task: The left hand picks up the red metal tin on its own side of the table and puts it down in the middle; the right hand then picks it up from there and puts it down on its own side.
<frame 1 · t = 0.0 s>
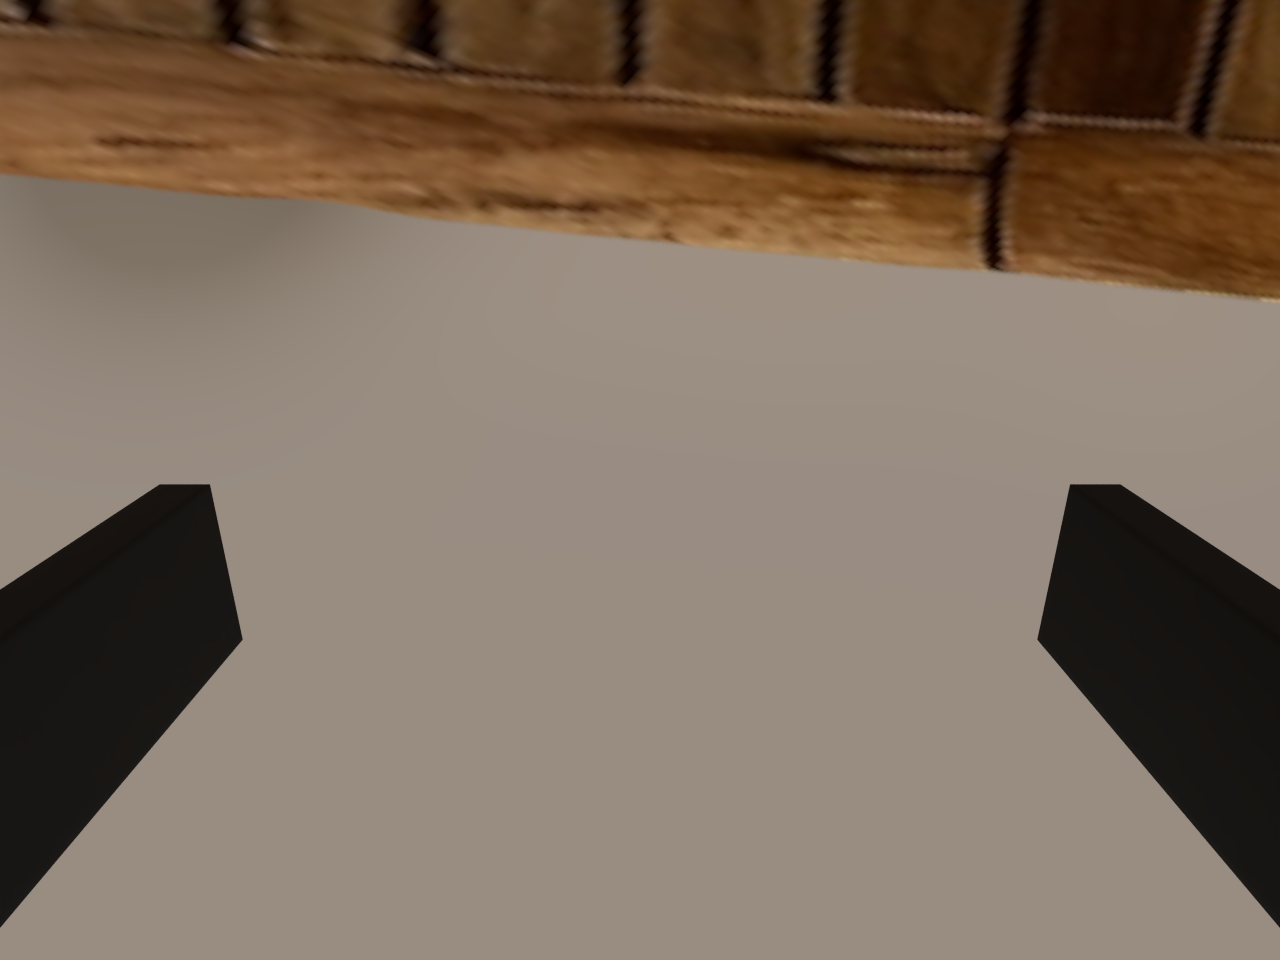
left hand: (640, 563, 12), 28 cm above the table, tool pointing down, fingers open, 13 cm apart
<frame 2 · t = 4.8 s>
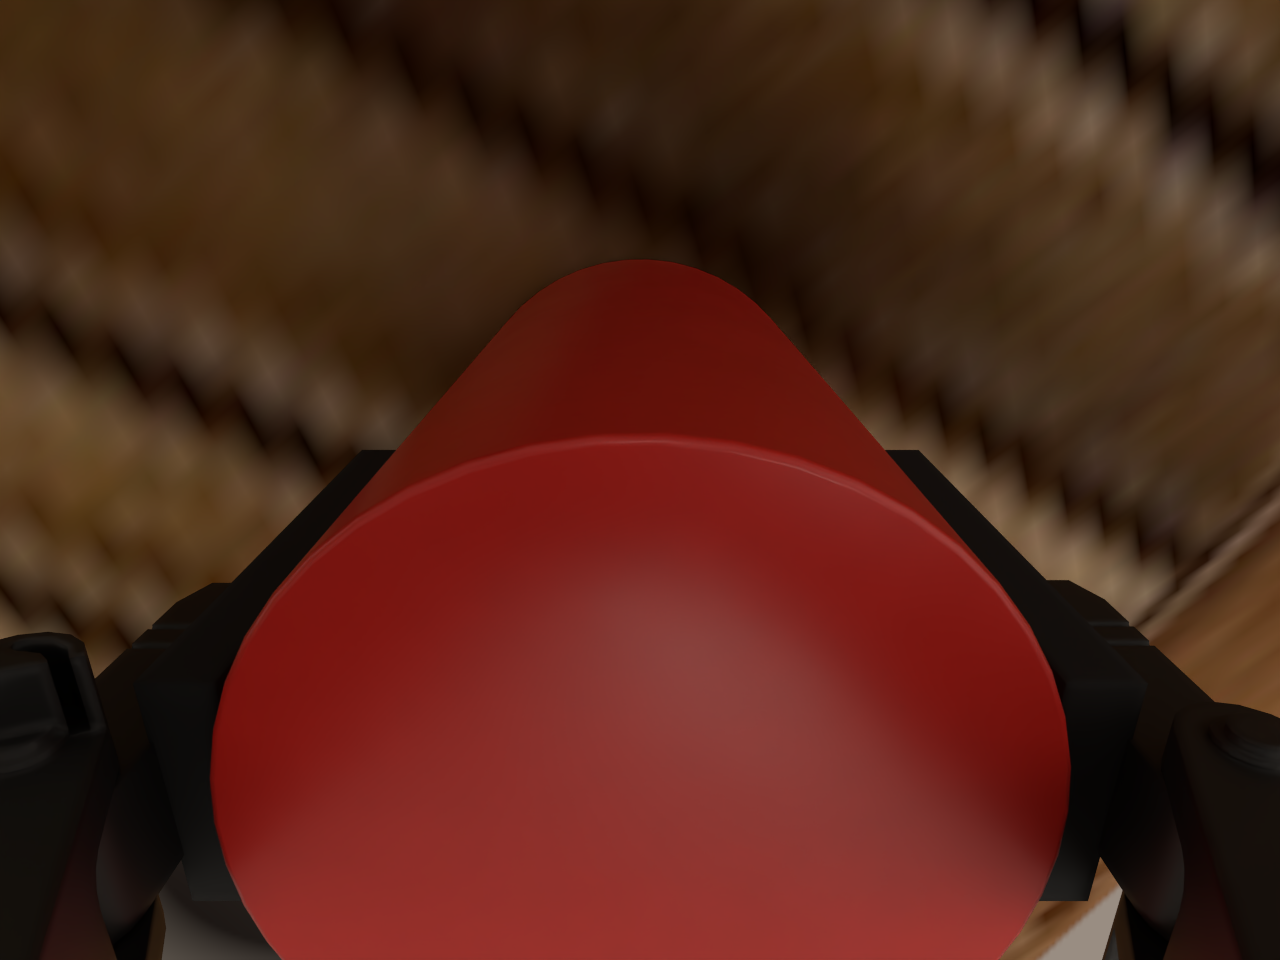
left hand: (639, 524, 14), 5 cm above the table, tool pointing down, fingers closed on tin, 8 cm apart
tin: (640, 431, 19), on the table, touching left hand
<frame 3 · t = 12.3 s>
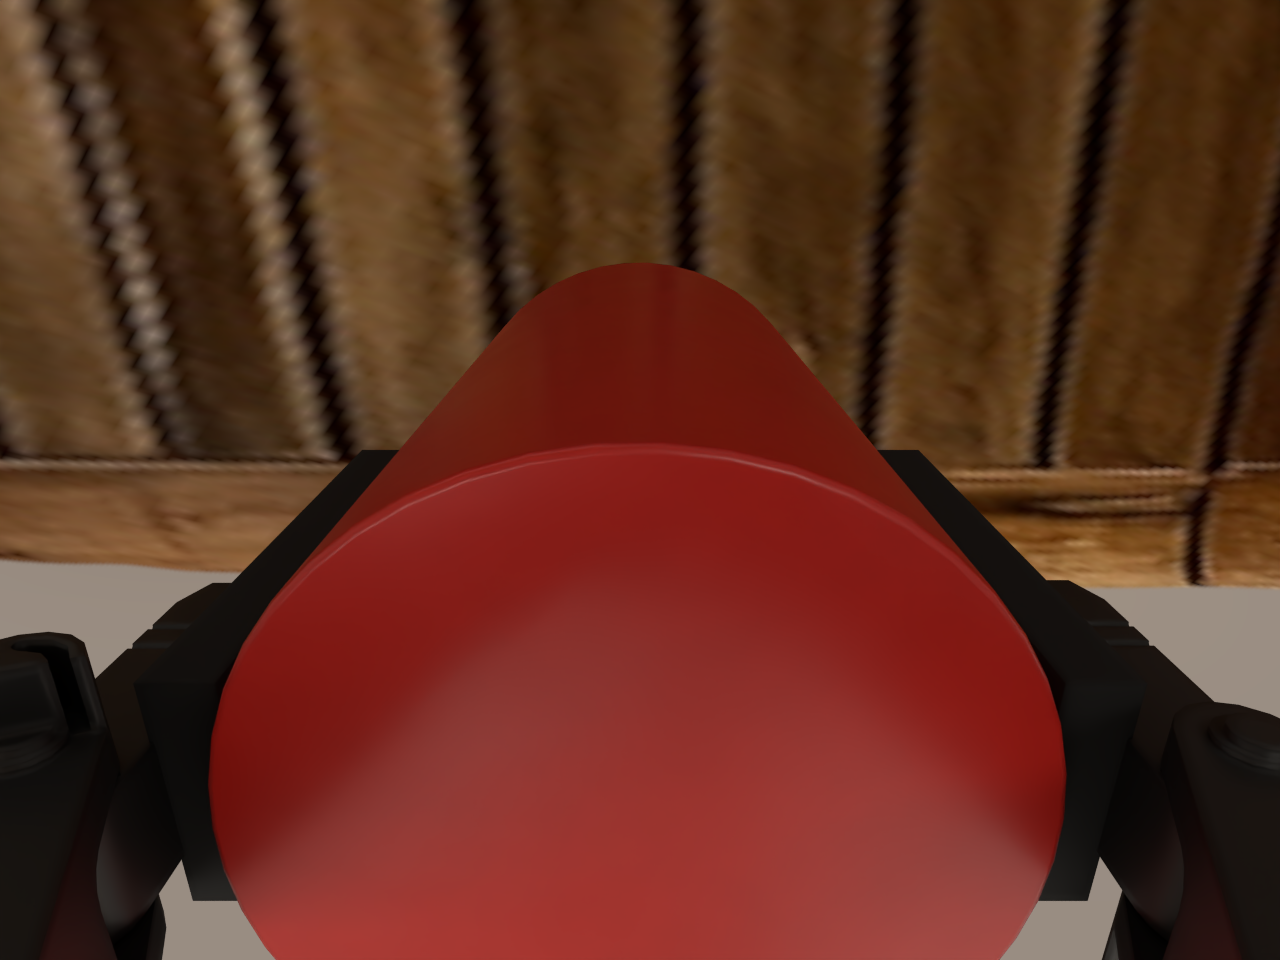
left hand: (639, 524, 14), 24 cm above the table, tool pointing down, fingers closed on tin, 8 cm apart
tin: (639, 434, 19), point 19 cm above the table, touching left hand
when the left hand's fingers open (7 cm above the table, at t = 19.7 s): tin drops 1 cm, on the table.
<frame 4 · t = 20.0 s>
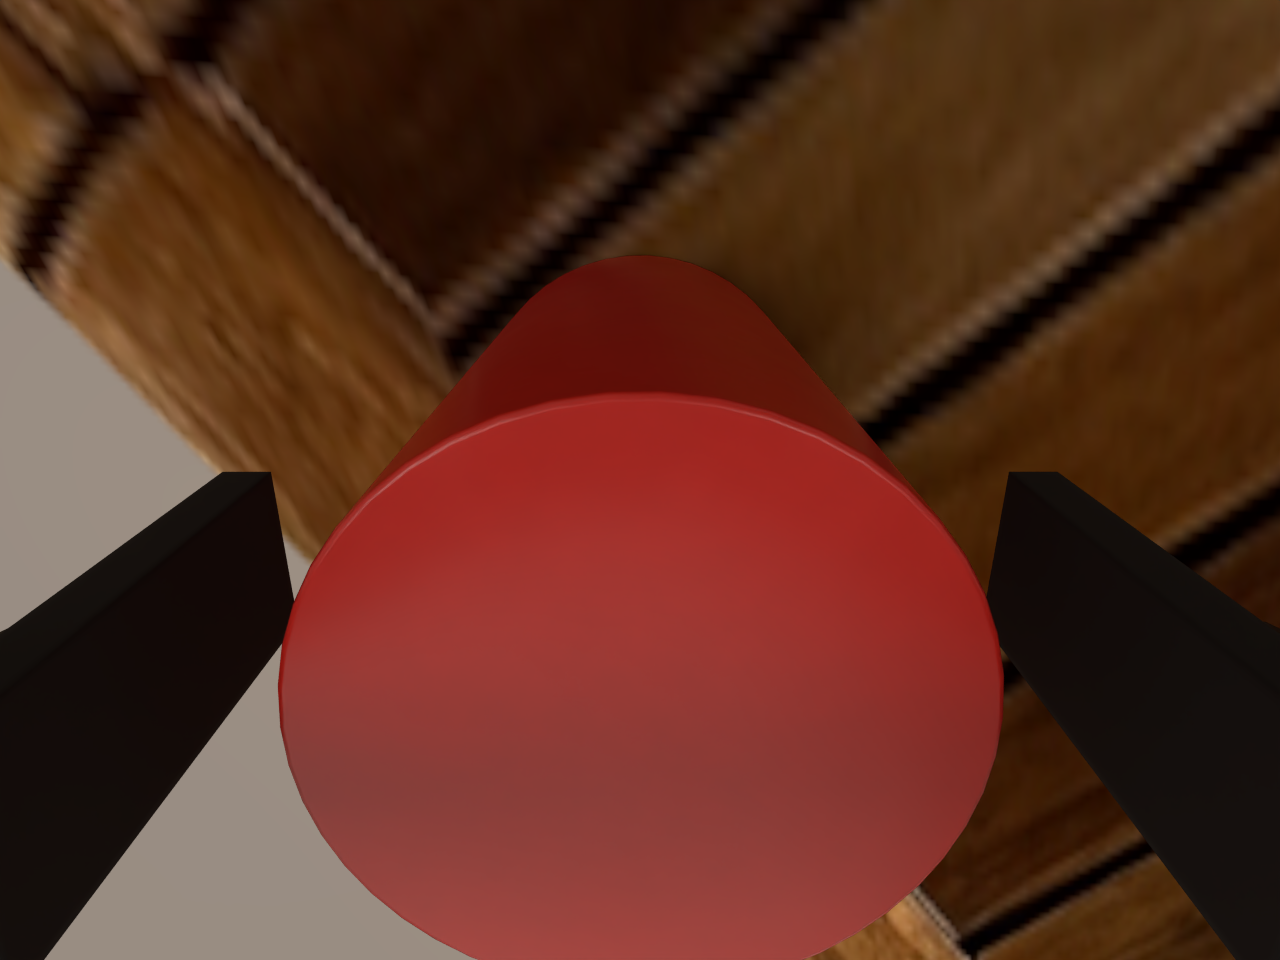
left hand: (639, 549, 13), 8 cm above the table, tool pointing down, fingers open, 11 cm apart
tin: (640, 416, 20), on the table
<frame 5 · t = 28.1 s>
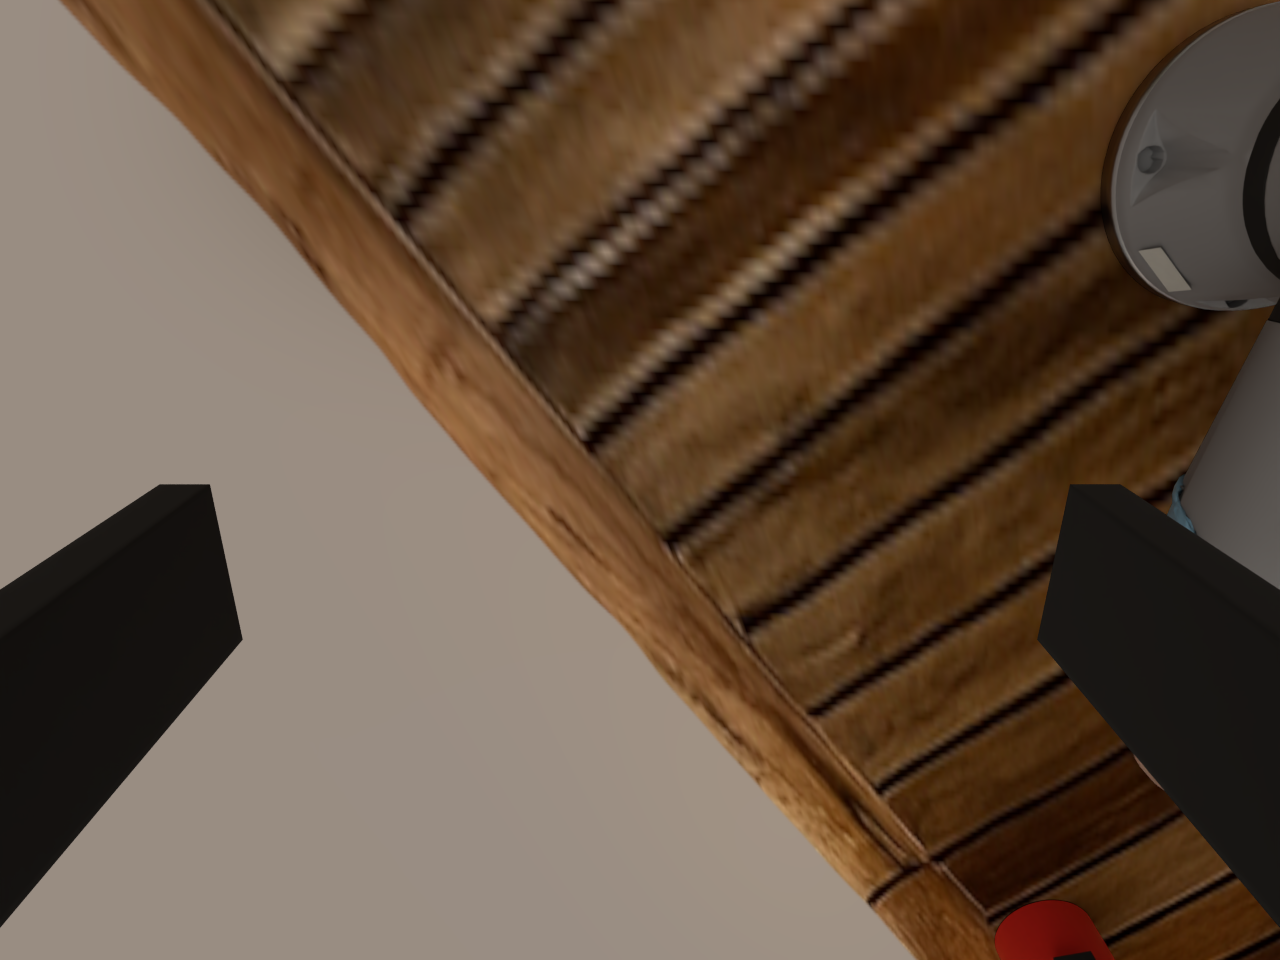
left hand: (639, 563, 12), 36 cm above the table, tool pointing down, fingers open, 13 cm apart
tin: (1043, 935, 65), on the table, touching right hand
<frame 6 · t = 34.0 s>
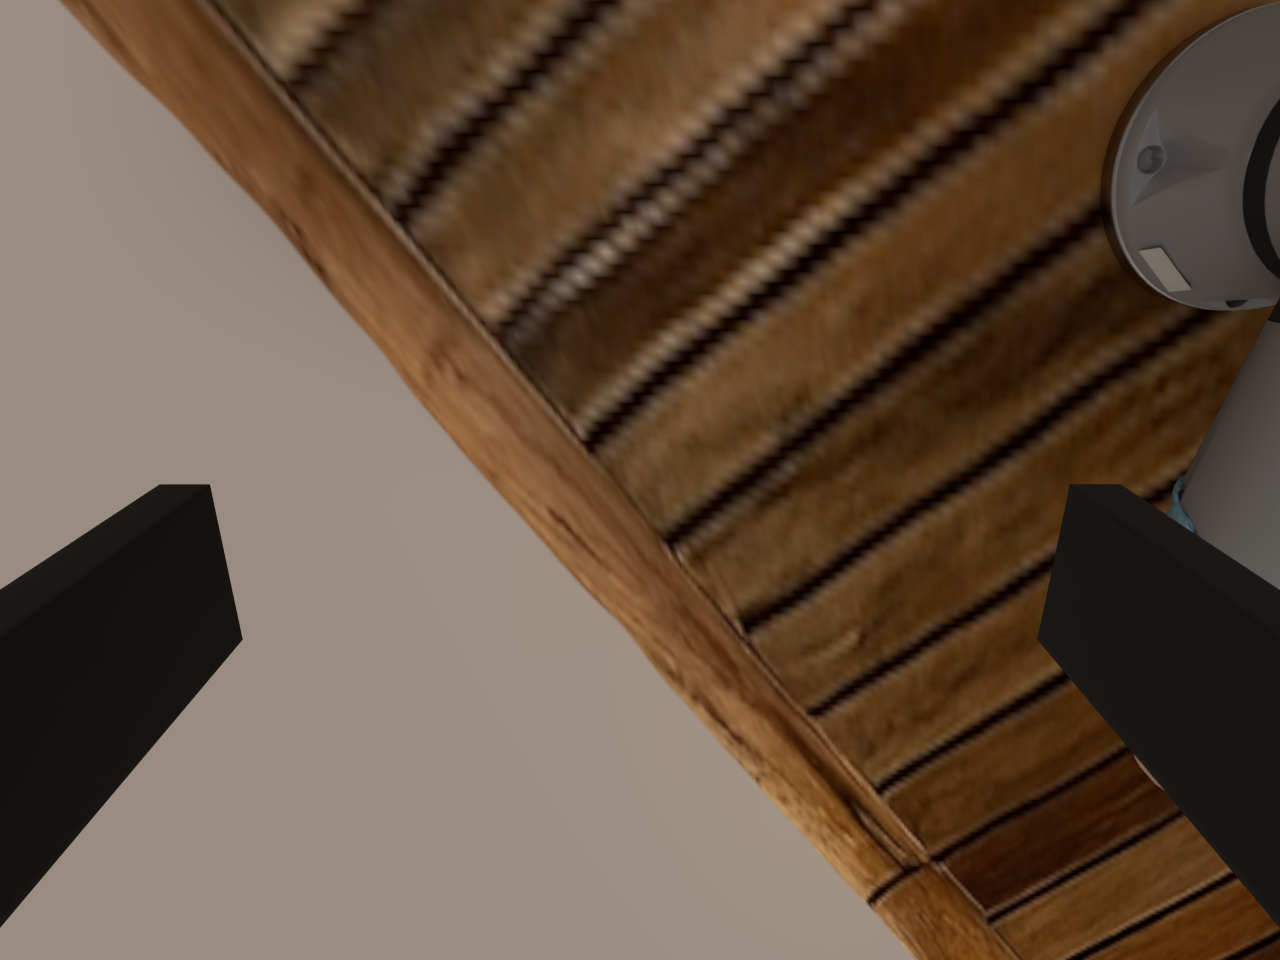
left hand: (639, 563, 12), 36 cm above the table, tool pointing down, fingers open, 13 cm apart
when the right hand's fingers open (7 cm above the table, at t = 39.9 s): tin drops 1 cm, on the table.
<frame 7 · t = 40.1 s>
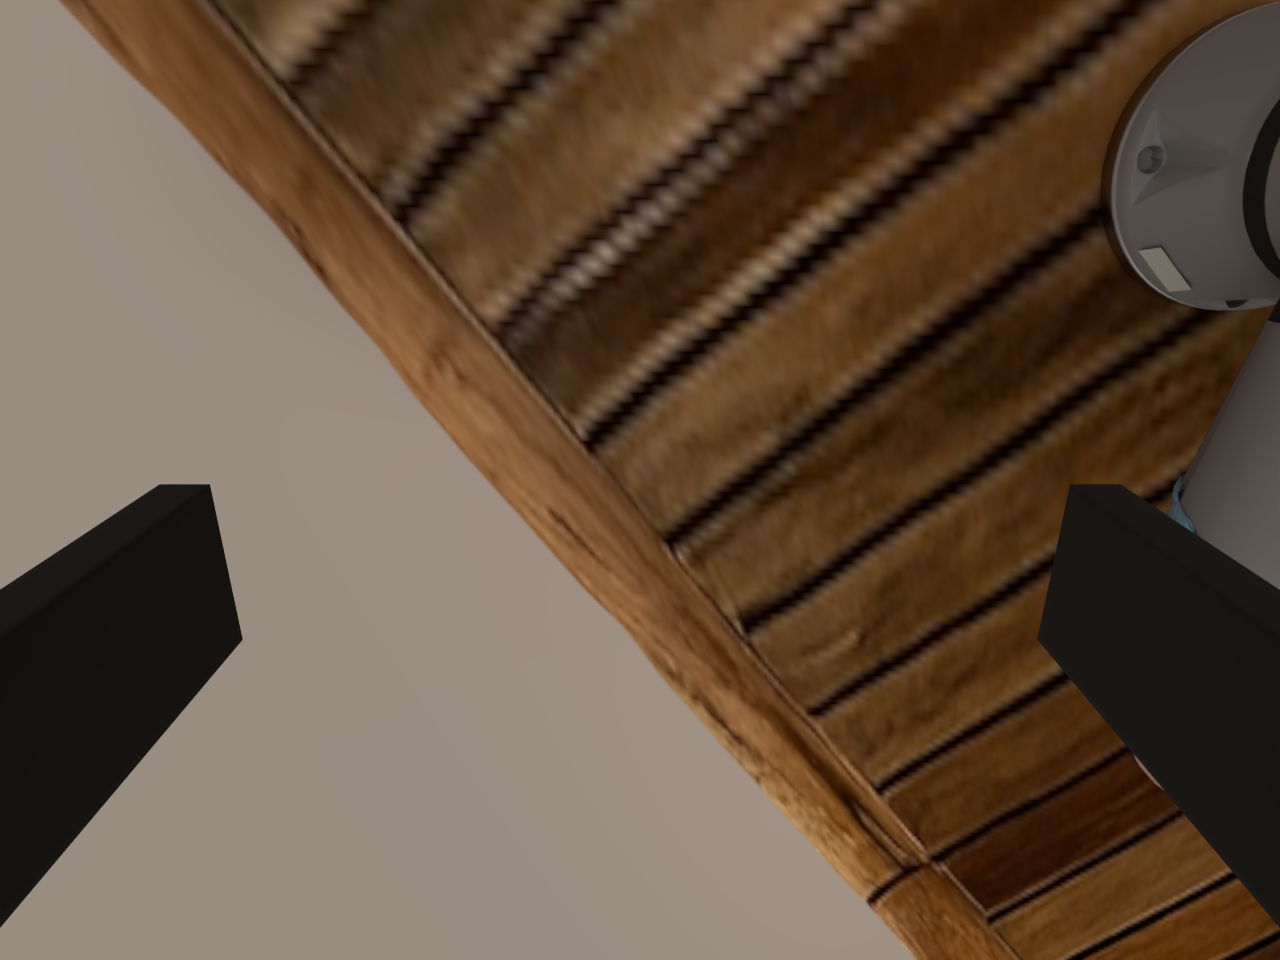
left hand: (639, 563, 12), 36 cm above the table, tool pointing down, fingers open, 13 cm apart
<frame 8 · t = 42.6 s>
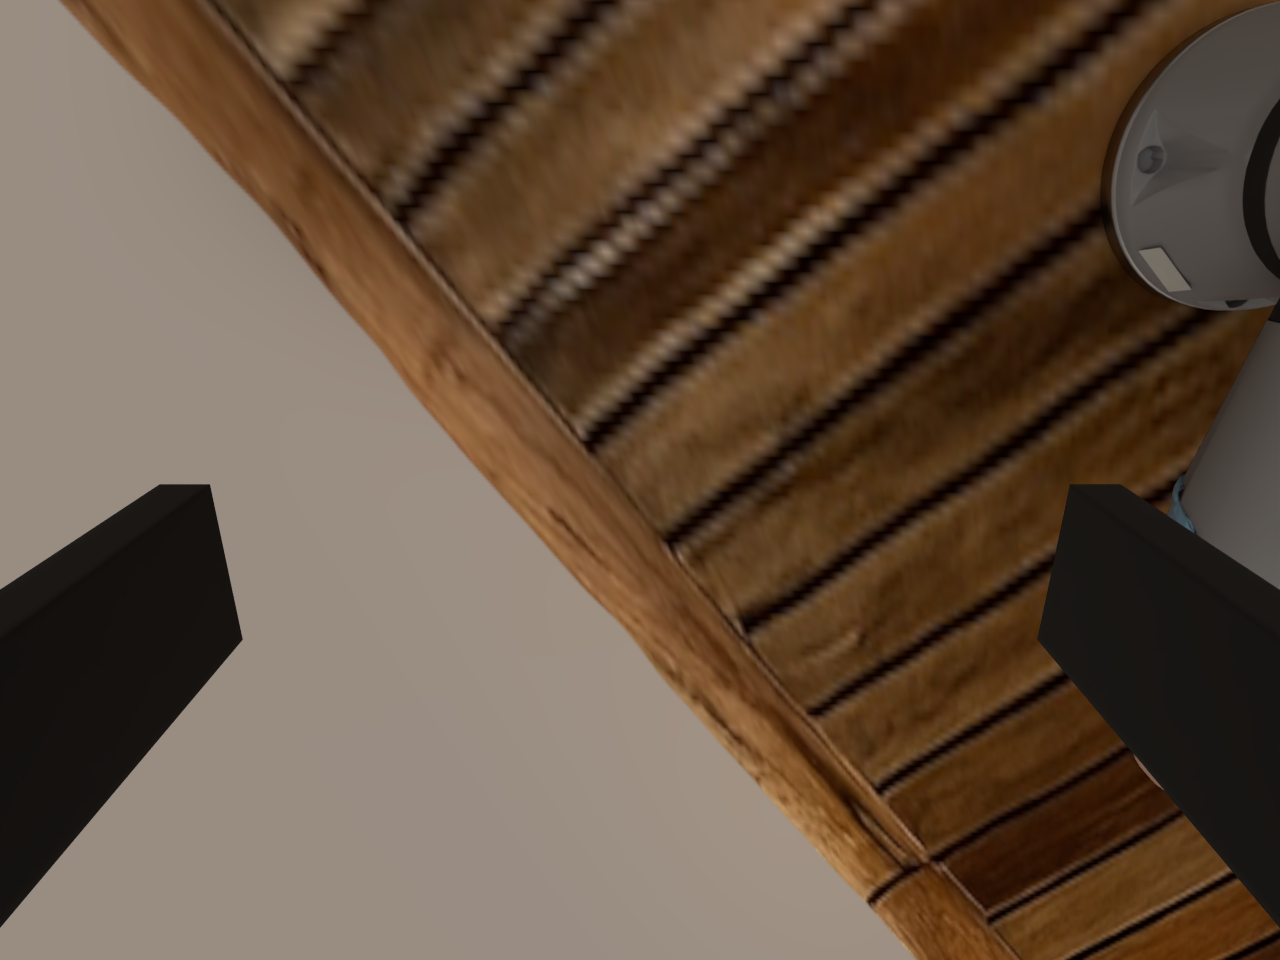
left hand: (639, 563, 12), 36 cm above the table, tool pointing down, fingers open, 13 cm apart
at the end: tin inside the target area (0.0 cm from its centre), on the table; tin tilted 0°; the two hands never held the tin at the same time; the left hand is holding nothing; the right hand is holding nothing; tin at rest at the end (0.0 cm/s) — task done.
